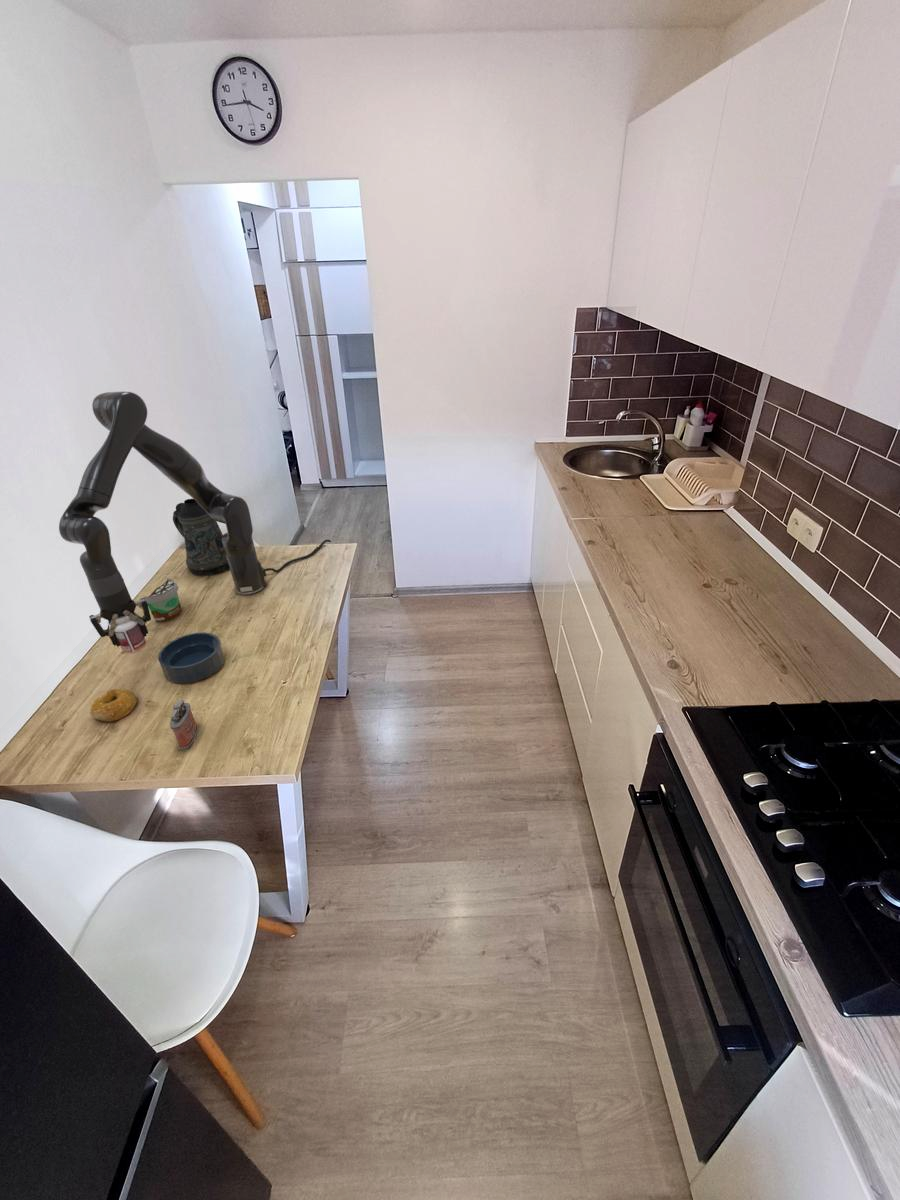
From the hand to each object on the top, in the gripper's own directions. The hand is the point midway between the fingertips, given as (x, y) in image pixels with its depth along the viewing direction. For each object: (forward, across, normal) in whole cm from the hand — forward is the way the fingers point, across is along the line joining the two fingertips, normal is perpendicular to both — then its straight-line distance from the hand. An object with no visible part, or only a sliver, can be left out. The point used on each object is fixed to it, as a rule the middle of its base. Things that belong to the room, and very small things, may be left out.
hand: (131, 639), depth 155 cm
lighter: (+9, +3, -38) cm, 39 cm away
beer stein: (+9, +32, +47) cm, 58 cm away
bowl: (+9, +12, -11) cm, 18 cm away
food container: (+9, +14, +21) cm, 27 cm away
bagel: (+8, -9, -16) cm, 20 cm away
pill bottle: (+3, 0, 0) cm, 3 cm away
